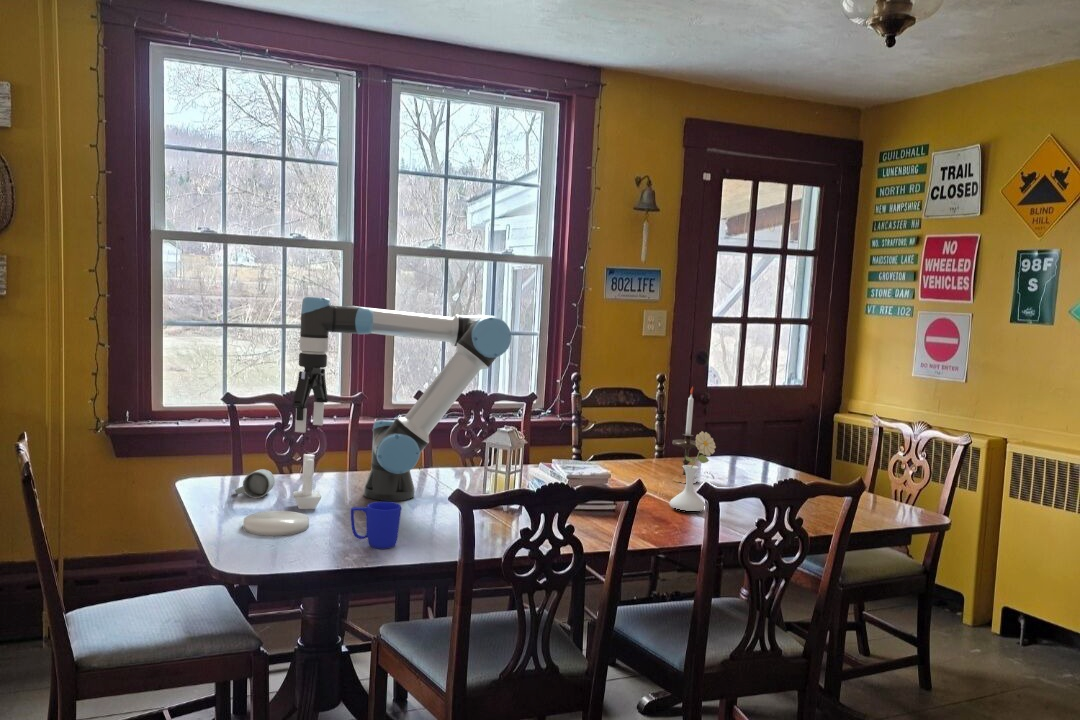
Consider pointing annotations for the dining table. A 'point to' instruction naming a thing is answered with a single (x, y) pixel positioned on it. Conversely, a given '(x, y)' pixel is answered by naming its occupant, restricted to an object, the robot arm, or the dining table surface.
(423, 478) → the dining table surface
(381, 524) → the mug
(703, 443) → the flower in vase
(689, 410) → the candlestick
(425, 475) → the dining table surface
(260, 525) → the disc
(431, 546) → the dining table surface
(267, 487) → the ceramic mug
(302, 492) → the figurine
